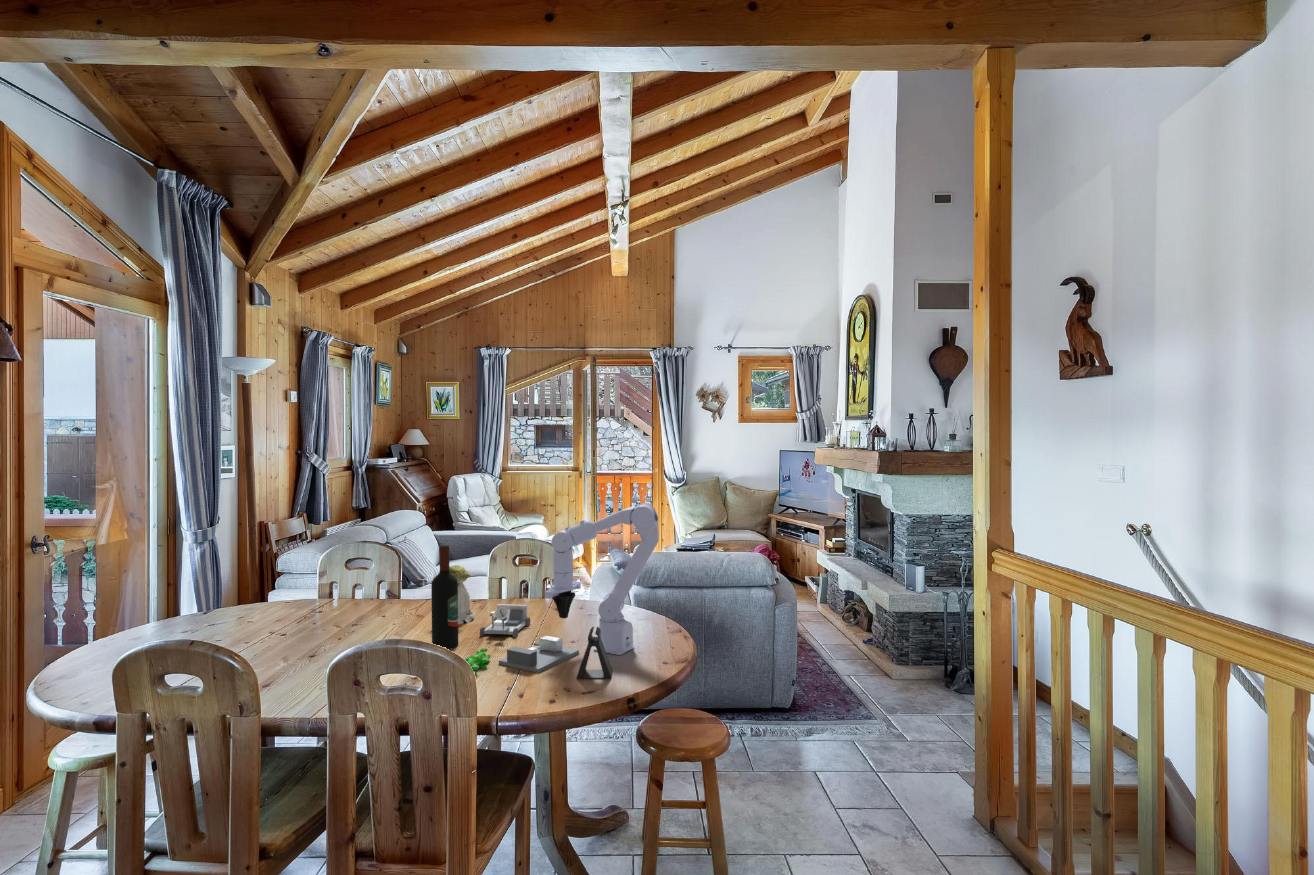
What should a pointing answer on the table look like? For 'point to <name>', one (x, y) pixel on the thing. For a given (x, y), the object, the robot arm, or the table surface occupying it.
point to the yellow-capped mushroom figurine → (462, 594)
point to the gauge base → (545, 659)
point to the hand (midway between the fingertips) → (563, 617)
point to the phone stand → (603, 658)
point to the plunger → (550, 644)
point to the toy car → (507, 620)
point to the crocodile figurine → (478, 659)
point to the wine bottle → (445, 604)
